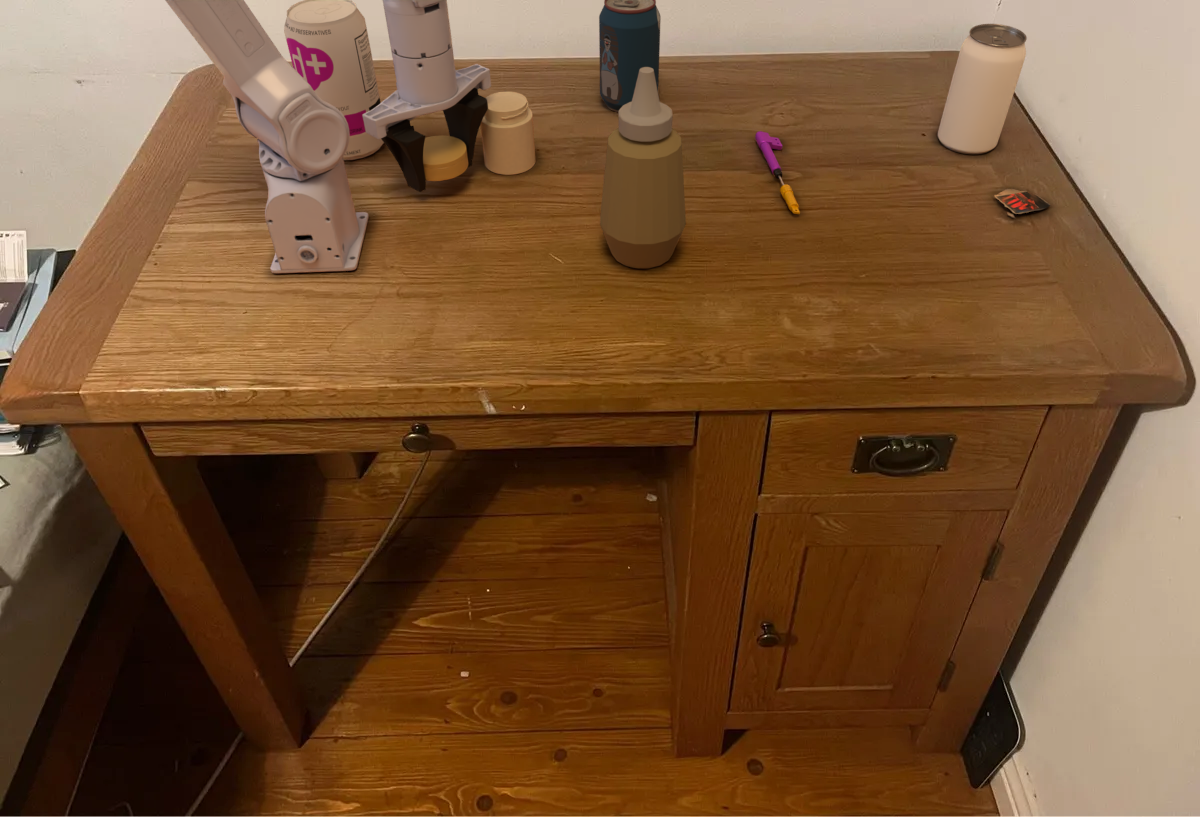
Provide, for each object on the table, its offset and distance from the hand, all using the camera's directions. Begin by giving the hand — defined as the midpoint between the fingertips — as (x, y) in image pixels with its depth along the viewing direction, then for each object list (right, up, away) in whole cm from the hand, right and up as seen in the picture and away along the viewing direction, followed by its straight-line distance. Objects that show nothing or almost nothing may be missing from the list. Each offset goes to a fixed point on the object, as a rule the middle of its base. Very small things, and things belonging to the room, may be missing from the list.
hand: (440, 175), depth 95 cm
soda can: (+20, +12, +15) cm, 28 cm away
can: (+58, +5, +7) cm, 58 cm away
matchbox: (+59, -4, -2) cm, 59 cm away
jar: (+7, +3, +5) cm, 9 cm away
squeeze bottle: (+21, -9, -8) cm, 24 cm away
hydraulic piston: (+36, 0, +2) cm, 36 cm away
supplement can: (-12, +5, +8) cm, 15 cm away
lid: (0, +2, -2) cm, 2 cm away
